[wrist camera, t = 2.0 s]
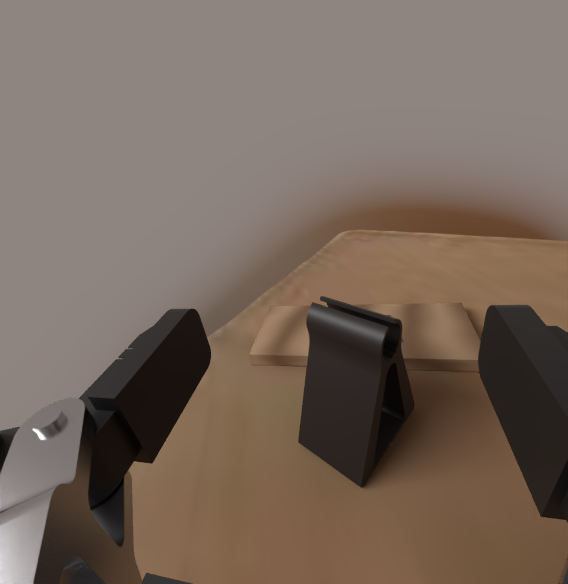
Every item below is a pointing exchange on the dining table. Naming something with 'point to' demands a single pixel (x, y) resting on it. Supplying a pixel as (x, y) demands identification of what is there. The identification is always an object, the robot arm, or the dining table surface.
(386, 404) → the phone stand
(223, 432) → the dining table surface
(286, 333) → the oak board
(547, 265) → the dining table surface
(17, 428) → the robot arm
